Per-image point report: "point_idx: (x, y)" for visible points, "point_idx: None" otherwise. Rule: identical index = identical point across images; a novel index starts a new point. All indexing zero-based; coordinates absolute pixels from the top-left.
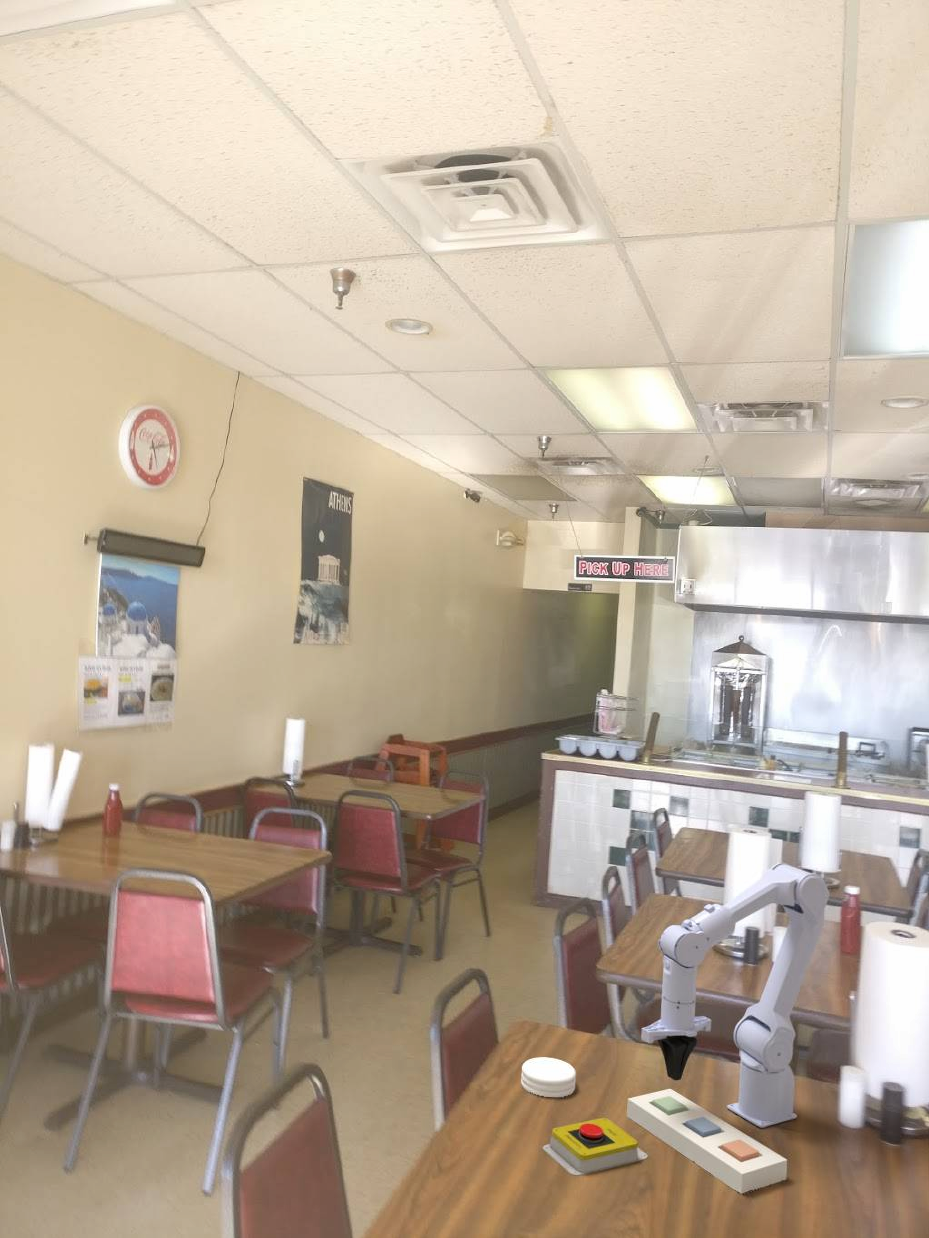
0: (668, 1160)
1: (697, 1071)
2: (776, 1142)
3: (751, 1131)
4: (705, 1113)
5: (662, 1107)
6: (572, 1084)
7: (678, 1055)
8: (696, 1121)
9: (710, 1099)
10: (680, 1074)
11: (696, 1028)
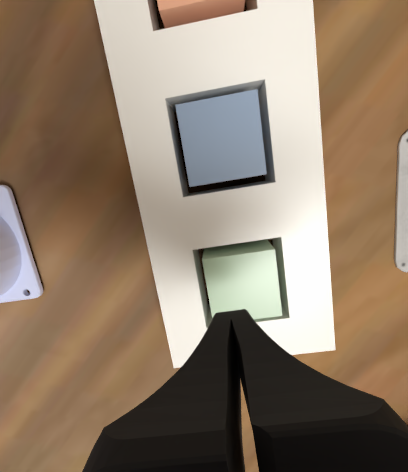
0: (359, 103)
1: (21, 448)
2: (6, 112)
3: (43, 180)
4: (158, 219)
5: (276, 274)
6: None
7: (293, 370)
8: (230, 165)
9: (61, 339)
10: (226, 318)
11: None
